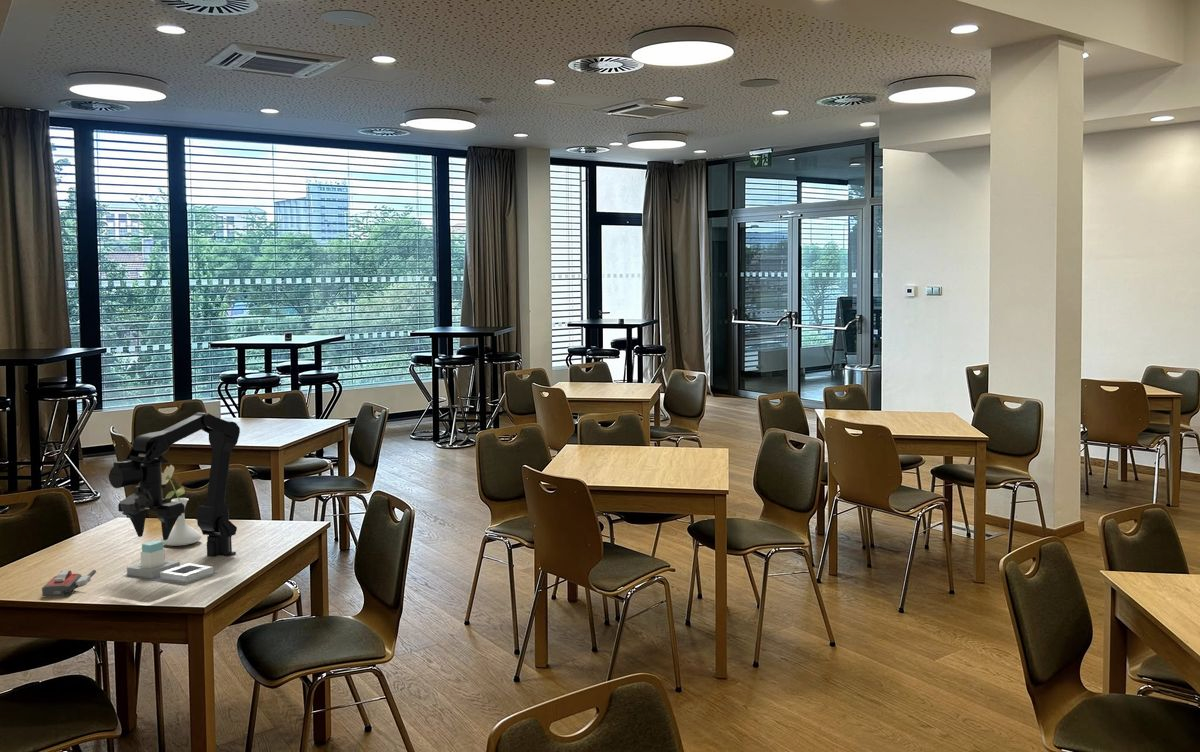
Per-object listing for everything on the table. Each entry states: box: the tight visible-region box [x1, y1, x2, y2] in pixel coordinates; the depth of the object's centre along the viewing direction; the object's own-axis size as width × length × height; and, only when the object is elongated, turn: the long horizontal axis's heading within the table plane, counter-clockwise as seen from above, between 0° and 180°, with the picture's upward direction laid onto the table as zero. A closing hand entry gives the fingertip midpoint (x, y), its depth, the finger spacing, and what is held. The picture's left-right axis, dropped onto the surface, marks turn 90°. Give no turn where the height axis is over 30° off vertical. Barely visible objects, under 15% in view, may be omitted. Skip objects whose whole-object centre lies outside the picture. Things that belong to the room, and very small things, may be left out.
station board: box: [122, 571, 218, 586], centre depth 264 cm, size 22×12×1 cm, turn 67°
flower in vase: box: [160, 464, 202, 547], centre depth 298 cm, size 13×11×25 cm
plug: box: [140, 540, 167, 569], centre depth 266 cm, size 4×5×8 cm
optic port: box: [160, 562, 214, 584], centre depth 262 cm, size 9×10×2 cm
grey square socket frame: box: [126, 559, 181, 578], centre depth 266 cm, size 9×10×2 cm
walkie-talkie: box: [41, 569, 97, 597], centre depth 256 cm, size 9×4×20 cm
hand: (152, 538), depth 266 cm, fingers open, 9 cm apart
